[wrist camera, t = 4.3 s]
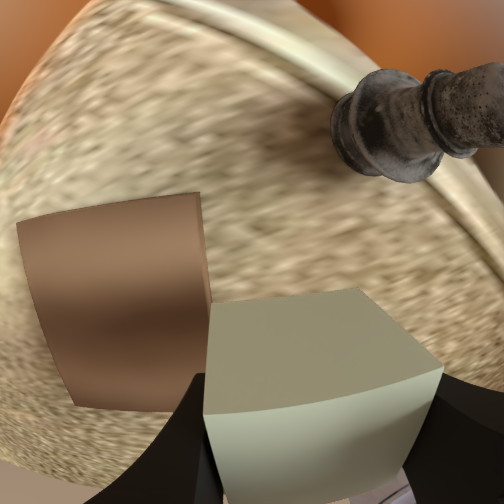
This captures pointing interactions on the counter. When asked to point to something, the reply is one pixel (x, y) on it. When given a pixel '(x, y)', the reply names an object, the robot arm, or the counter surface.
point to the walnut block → (122, 299)
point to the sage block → (312, 396)
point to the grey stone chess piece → (418, 120)
